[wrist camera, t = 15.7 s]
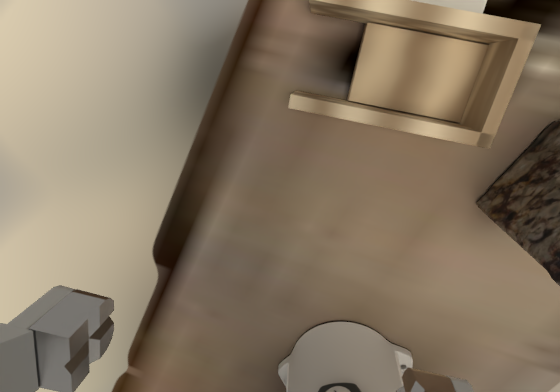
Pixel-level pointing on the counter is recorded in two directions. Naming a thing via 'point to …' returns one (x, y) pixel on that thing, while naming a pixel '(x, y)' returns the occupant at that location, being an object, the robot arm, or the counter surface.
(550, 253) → the stone block
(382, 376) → the robot arm
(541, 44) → the counter surface
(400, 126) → the channel
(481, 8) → the mat
